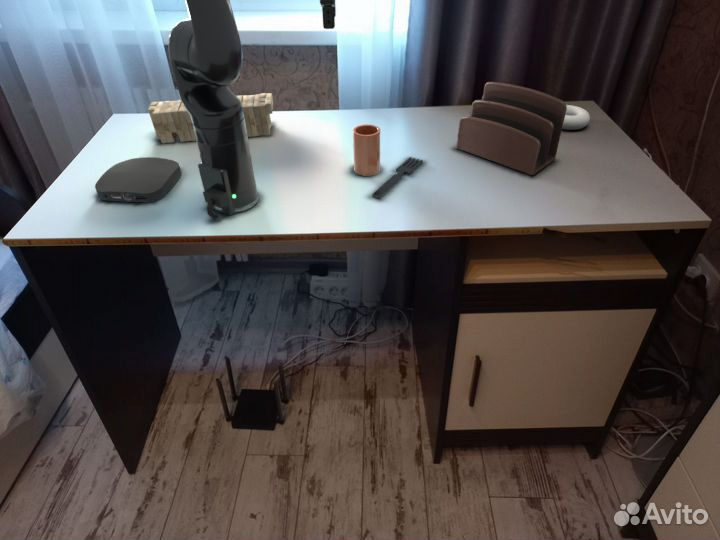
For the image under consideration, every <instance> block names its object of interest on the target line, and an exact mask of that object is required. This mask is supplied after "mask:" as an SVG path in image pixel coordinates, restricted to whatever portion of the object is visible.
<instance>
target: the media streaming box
mask: <svg viewBox="0 0 720 540" xmlns="http://www.w3.org/2000/svg"><path fill="white" fill-rule="evenodd" d="M180 177H182V169H181V166H180V163H179V162H178V161H176V160H173V159H171V158H164V157H151V156H150V157H149V156H147V157H135V158H129V159H125V160H123V161H119V162H118V163H116V164H113V165H112V166H111V167H109V168H108V169H106V171H105V172H103V174H102V175H101V176H100V177H99V179H98V180H97V181H96V182H95V185H94V188H95V191H96V194H97V196H98V198H99V199H101V200H102V201H109V202H110V201H111V202H125V203H149V202H155V201H157V200H160V199H162V198H163V197H165V196H166V195H167V193H168V192H169V191H170V190H171V189H172V188H173V187H174V185H175V184H176V183H177V182H178V180H179V179H180Z"/></svg>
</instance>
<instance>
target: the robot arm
mask: <svg viewBox="0 0 720 540" xmlns="http://www.w3.org/2000/svg"><path fill="white" fill-rule="evenodd" d="M185 4H186V7H187V12H188V16H189V18H185V19H183V20H180V21H179V22H177V23H176V24H175V25H174V26H173V27H172V29H171V31H170V34H169V36H168V43H167V46H168V48H167V49H168V51H167V52H168V58H169V63H170V67H171V70H172V73H173V77H174V80H175V83H176V87H177V90H178V94H179V98H180V100H182V103H183V105H184V107H185V108H186V110H187V111H188V113H189V114H190V117H191V121H192V125H193V129H194V133H195V137H196V141H195V142H196V145H197V149H198V153H199V157H200V161H201V162H199V163H198V164H197V168H198V172H199V177H200V180H201V184H202V187H203V191H202V194H203V195H202V196H203V198H204V199H203V200H204V203H206V213H207V215H208V216H209V217H210V218H211V219H213V220H214V221H216V220H217V219H219V216H218V214H216V213H215V212H214V211H217V212H219V213H223V214H225V215H227V216H233V215H235V214H236V213H242V212H245V211H247V210H248V211H249V210H250V209H252V208H253V207H254V206H256V205H257V204H258V202H259V200H260V195H259V191H258V188H257V182H256V175H255V171H254V165H253V159H252V153H251V147H250V142H249V137H248V135H247V129H246V124H245V118H244V112H243V107H242V103H241V101H240V100H239V98H238V97H237V96H238V95H236V94H235V93H234V92H233V91H232V90H231V89H230V88H229V86H231V85H232V84H234V83H235V82H236V81H237V79H238V78H239V76H240V75H241V72H242V68H243V62H244V60H243V59H244V58H243V57H244V56H243V55H244V53H243V47H242V41H241V37H240V33H239V29H238V26H237V22H236V18H235V15H234V11H233V8H232V4H231V1H230V0H185ZM319 4H320V7H321V9H322V10H321V12H322V27H323V29H325V30H332V29H333V30H334V29H335V27H336V19H335V18H336V15H337V13H336V12H337V11H336V10H337V9H336V0H319ZM213 210H214V211H213Z"/></svg>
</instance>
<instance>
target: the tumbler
mask: <svg viewBox="0 0 720 540" xmlns="http://www.w3.org/2000/svg"><path fill="white" fill-rule="evenodd" d="M352 144H353V145H352V147H353V169H354V170H353V171H354V172H355V174H357V175H358V176H363V177H372V176H376V175H377V174H379V173H380V171H381V128H380V127H379V126H377V125H374V124H360V125H357V126H355V127H354V128H353V130H352Z"/></svg>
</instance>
